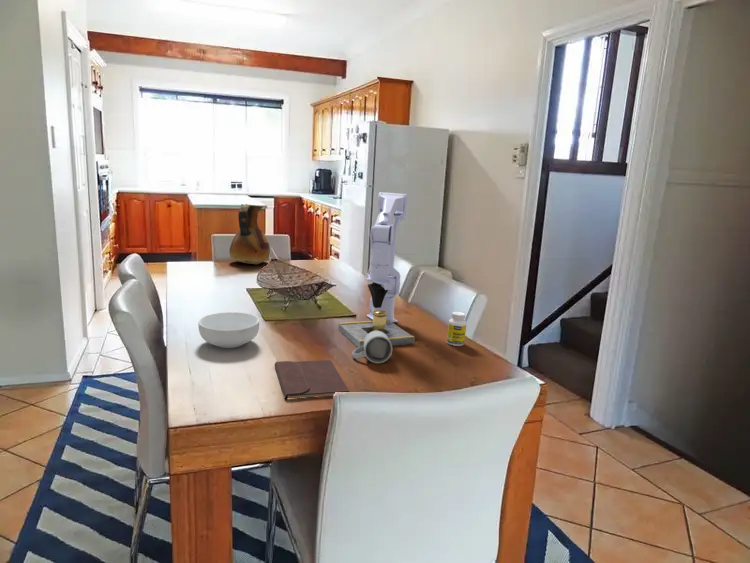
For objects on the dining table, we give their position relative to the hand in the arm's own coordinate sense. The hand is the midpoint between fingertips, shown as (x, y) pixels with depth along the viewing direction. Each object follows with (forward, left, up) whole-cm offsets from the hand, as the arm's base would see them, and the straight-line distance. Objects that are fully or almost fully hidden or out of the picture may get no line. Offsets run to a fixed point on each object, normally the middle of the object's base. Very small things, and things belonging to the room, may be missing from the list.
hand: (377, 307), depth 162 cm
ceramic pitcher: (-122, -16, -10) cm, 123 cm away
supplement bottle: (+12, +22, -10) cm, 27 cm away
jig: (0, 0, -10) cm, 10 cm away
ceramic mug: (+17, -9, -10) cm, 22 cm away
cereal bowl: (-4, -44, -10) cm, 45 cm away
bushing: (0, +1, -10) cm, 10 cm away
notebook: (+27, -29, -10) cm, 41 cm away
